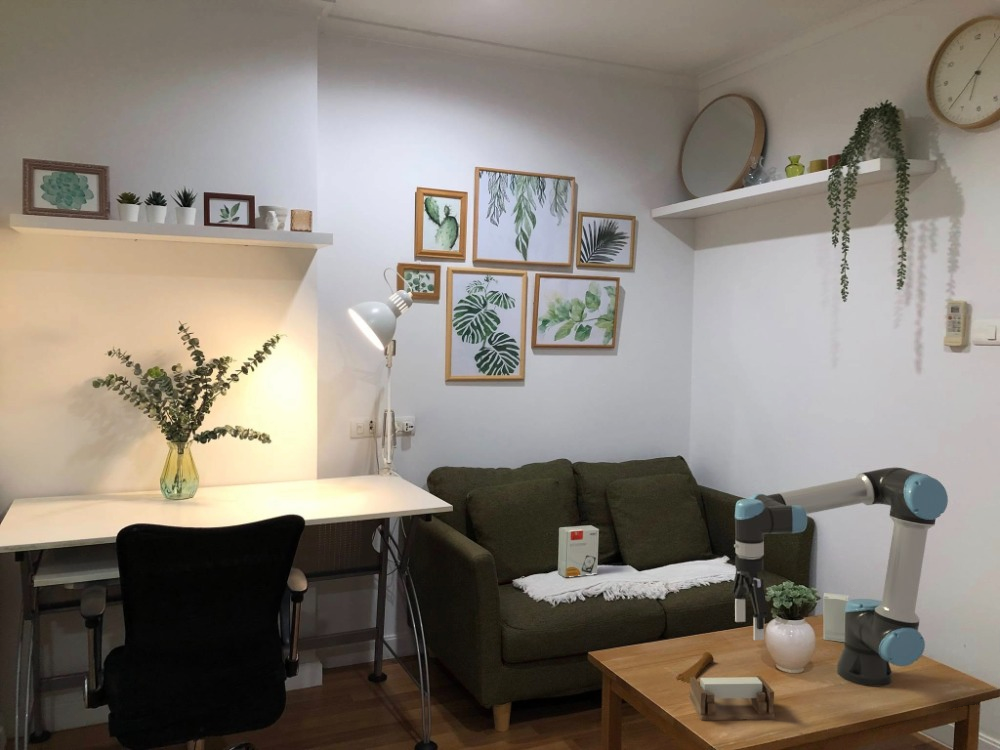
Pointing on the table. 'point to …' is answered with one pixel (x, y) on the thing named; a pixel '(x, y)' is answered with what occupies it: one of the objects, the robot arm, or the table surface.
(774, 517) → the robot arm
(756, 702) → the rack
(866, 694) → the table surface
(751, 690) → the strip
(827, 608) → the skincare box
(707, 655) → the primitive tool
